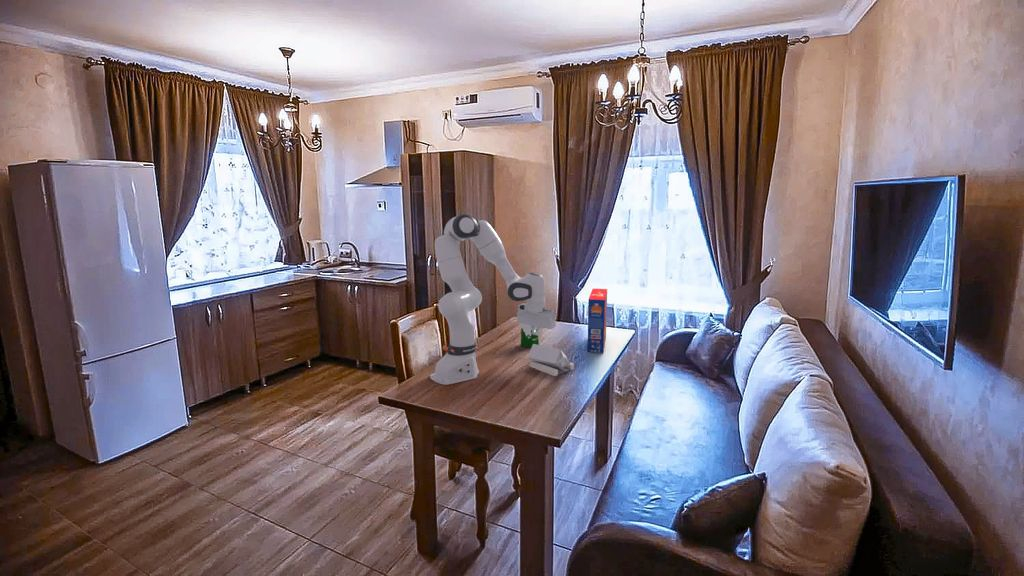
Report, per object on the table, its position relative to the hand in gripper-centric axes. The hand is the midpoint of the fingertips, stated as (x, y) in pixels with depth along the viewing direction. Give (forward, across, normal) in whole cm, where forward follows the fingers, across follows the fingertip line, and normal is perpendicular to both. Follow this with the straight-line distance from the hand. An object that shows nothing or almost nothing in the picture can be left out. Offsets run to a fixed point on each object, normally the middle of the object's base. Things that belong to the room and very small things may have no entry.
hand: (536, 334), depth 230 cm
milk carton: (+9, 0, +3) cm, 9 cm away
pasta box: (+14, -11, -42) cm, 46 cm away
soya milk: (+14, +18, -20) cm, 30 cm away
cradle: (+14, -10, +2) cm, 17 cm away
